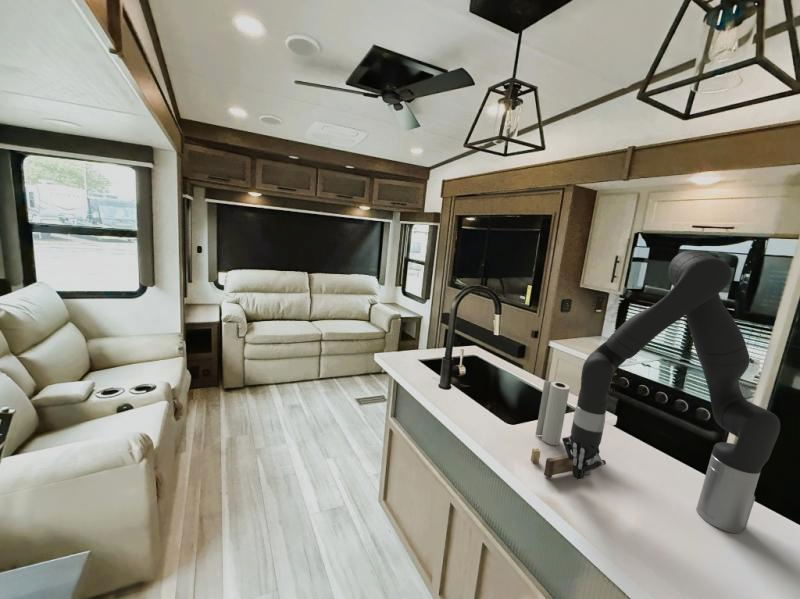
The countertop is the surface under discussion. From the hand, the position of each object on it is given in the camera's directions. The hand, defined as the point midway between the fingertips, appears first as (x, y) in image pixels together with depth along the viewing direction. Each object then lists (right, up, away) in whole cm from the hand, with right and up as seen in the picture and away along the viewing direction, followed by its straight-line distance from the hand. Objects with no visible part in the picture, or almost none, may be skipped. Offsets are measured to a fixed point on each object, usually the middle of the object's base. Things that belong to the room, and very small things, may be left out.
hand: (577, 477), depth 100 cm
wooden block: (-2, -2, +6) cm, 7 cm away
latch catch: (-8, -1, +12) cm, 14 cm away
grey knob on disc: (+6, -2, +9) cm, 11 cm away
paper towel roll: (+2, +1, +24) cm, 25 cm away
